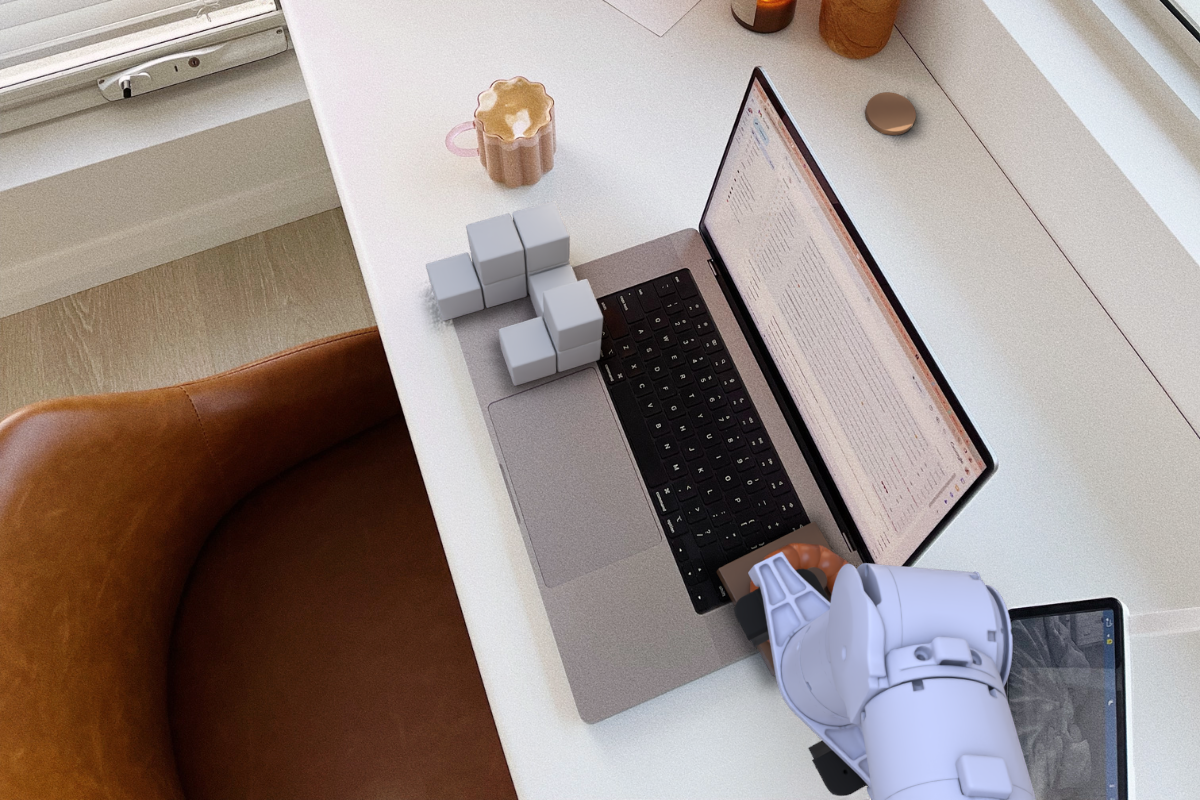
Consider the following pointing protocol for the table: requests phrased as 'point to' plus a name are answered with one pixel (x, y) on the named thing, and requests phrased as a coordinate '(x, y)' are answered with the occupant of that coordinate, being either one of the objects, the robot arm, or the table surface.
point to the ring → (810, 561)
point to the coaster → (890, 113)
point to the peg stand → (737, 571)
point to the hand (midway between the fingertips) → (794, 689)
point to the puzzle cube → (524, 290)
